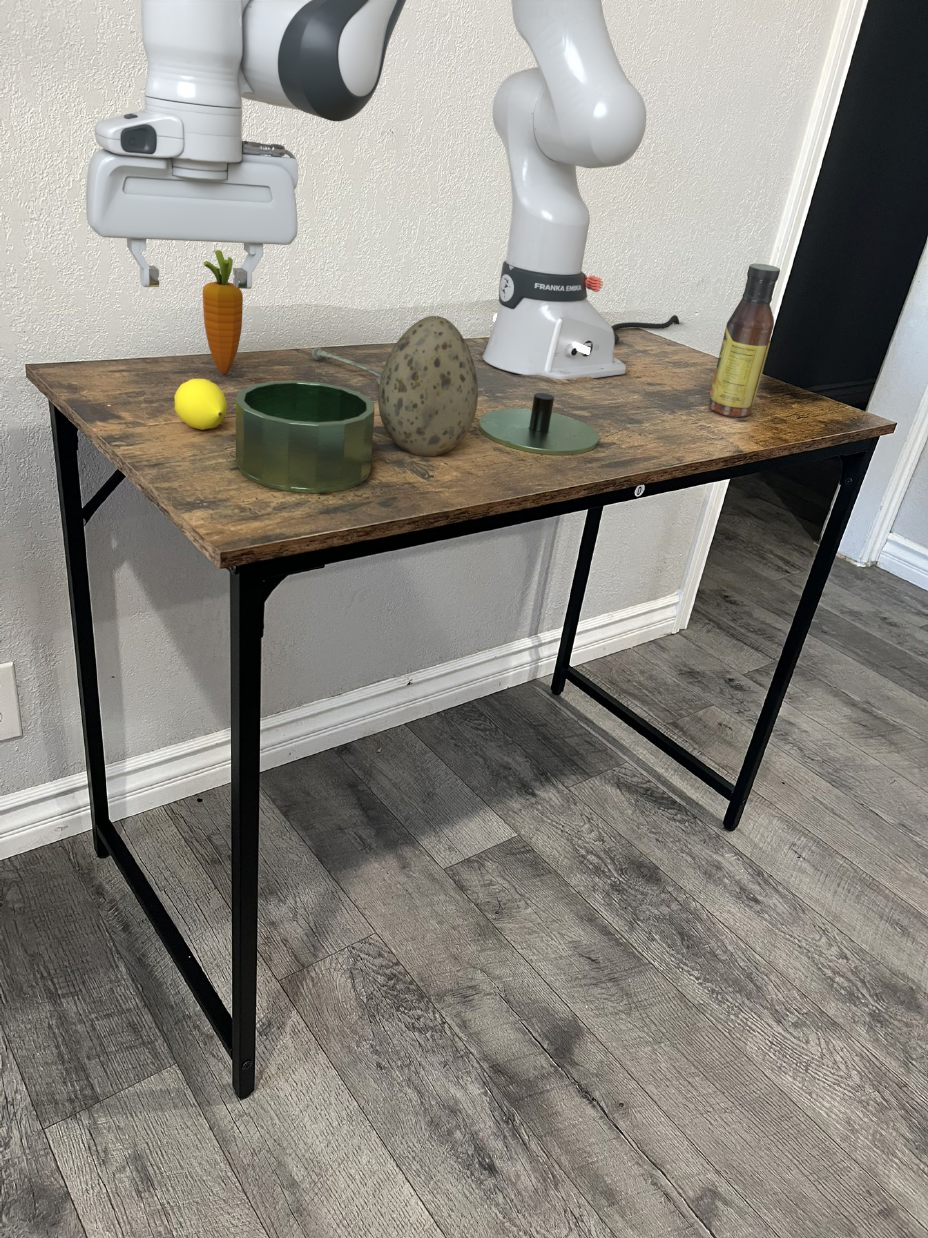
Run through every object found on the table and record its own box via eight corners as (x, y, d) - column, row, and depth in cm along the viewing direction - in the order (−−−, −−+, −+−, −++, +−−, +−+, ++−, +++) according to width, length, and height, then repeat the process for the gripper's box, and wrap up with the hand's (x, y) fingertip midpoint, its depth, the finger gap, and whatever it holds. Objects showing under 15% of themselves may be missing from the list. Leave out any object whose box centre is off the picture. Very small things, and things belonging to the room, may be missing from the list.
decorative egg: (468, 442, 111) (485, 311, 103) (471, 476, 101) (490, 335, 94) (376, 432, 110) (386, 299, 102) (371, 466, 100) (381, 322, 93)
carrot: (238, 382, 120) (238, 257, 112) (199, 377, 120) (196, 252, 112) (247, 371, 124) (247, 251, 117) (209, 366, 124) (206, 246, 116)
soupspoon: (401, 414, 119) (439, 409, 123) (405, 387, 117) (443, 384, 121) (297, 360, 131) (335, 357, 135) (299, 335, 129) (337, 333, 134)
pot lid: (554, 414, 124) (560, 375, 121) (621, 455, 113) (629, 412, 110) (456, 420, 117) (461, 379, 114) (518, 464, 106) (524, 419, 103)
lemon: (163, 422, 105) (161, 373, 102) (206, 415, 108) (205, 368, 105) (197, 442, 101) (196, 392, 98) (241, 434, 104) (241, 386, 101)
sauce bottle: (721, 402, 138) (758, 259, 128) (758, 415, 134) (799, 269, 124) (696, 408, 134) (733, 261, 124) (735, 422, 130) (775, 271, 120)
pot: (340, 439, 106) (343, 378, 103) (391, 486, 96) (396, 420, 93) (220, 448, 100) (219, 383, 96) (261, 498, 90) (262, 428, 86)
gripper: (287, 142, 97) (284, 281, 104) (76, 122, 87) (87, 277, 94) (309, 149, 92) (304, 295, 99) (89, 129, 83) (100, 292, 90)
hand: (197, 286), depth 97 cm, fingers open, 8 cm apart
